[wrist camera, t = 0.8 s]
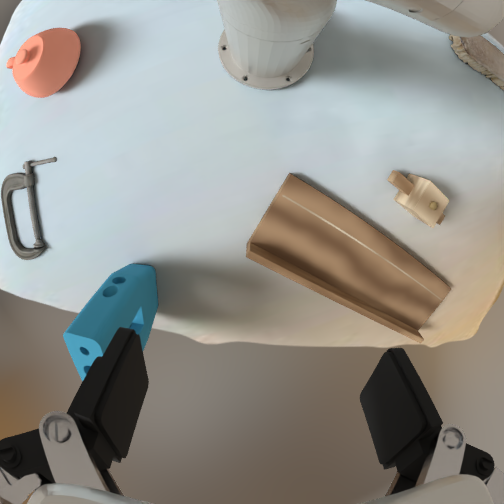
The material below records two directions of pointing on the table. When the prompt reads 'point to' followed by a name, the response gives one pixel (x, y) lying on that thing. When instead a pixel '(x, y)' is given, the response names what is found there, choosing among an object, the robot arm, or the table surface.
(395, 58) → the table surface
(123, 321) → the block
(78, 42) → the sugar bowl
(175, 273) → the table surface
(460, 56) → the beige mottled oblong part
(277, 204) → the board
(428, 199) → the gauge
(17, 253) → the c clamp
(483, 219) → the table surface
